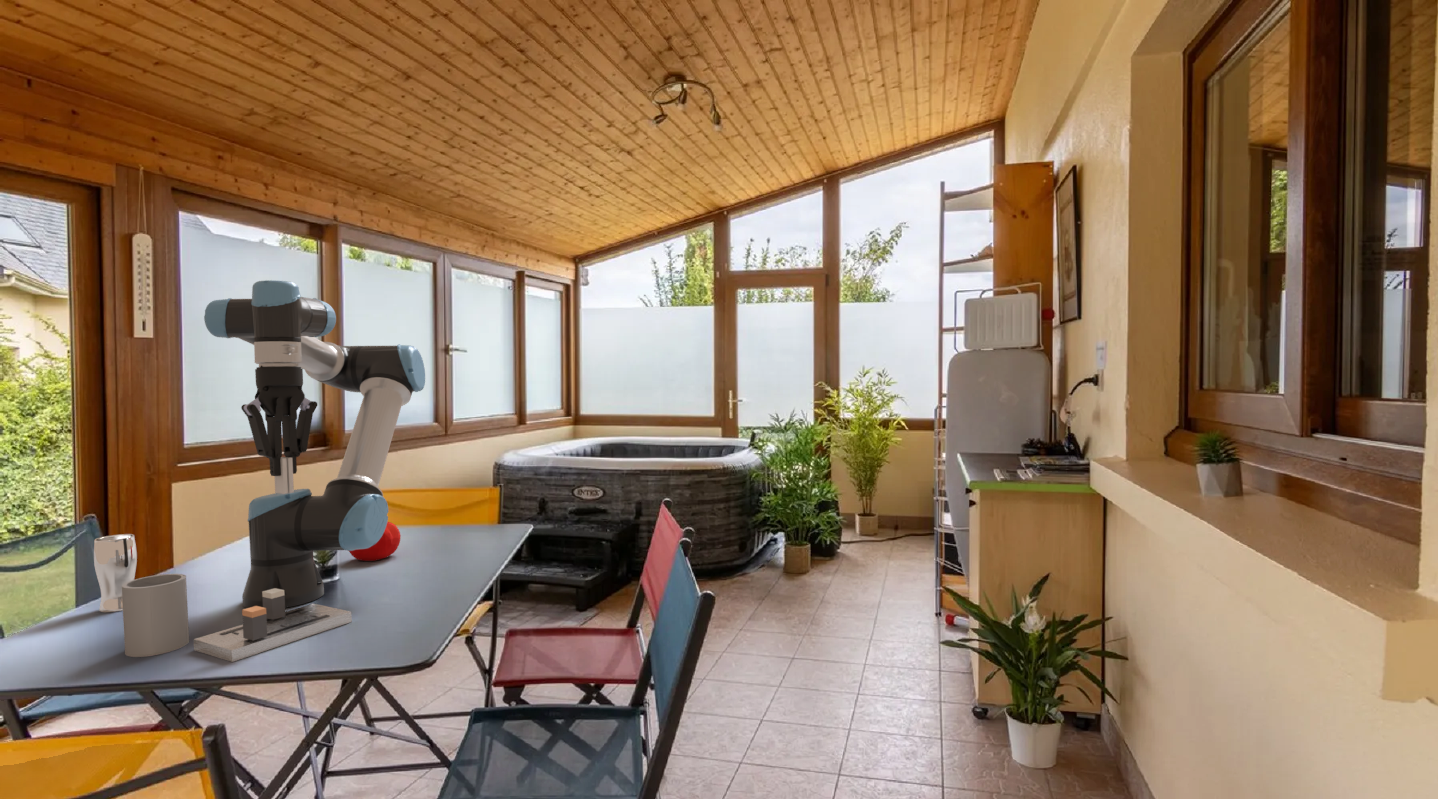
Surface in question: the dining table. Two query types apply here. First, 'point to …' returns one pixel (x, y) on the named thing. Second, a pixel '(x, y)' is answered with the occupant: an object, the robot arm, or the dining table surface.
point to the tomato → (380, 545)
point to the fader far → (274, 603)
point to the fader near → (254, 623)
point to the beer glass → (114, 568)
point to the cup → (155, 614)
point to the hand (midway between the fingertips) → (284, 492)
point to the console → (273, 632)
